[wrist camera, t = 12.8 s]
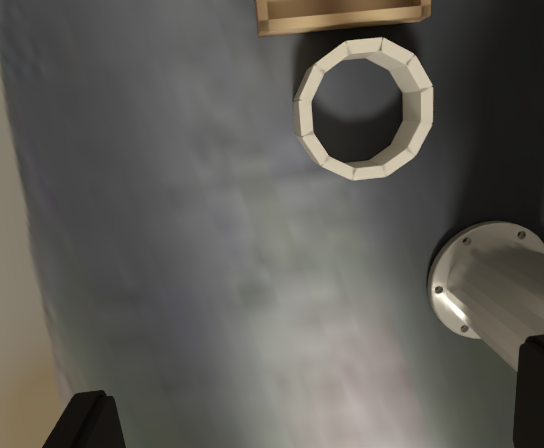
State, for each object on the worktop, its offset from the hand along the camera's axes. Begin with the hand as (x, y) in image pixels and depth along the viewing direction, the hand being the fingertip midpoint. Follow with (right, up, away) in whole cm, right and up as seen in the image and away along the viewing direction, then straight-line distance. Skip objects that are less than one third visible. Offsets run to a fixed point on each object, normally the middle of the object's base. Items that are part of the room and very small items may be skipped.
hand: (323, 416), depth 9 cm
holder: (+6, +15, +28) cm, 32 cm away
